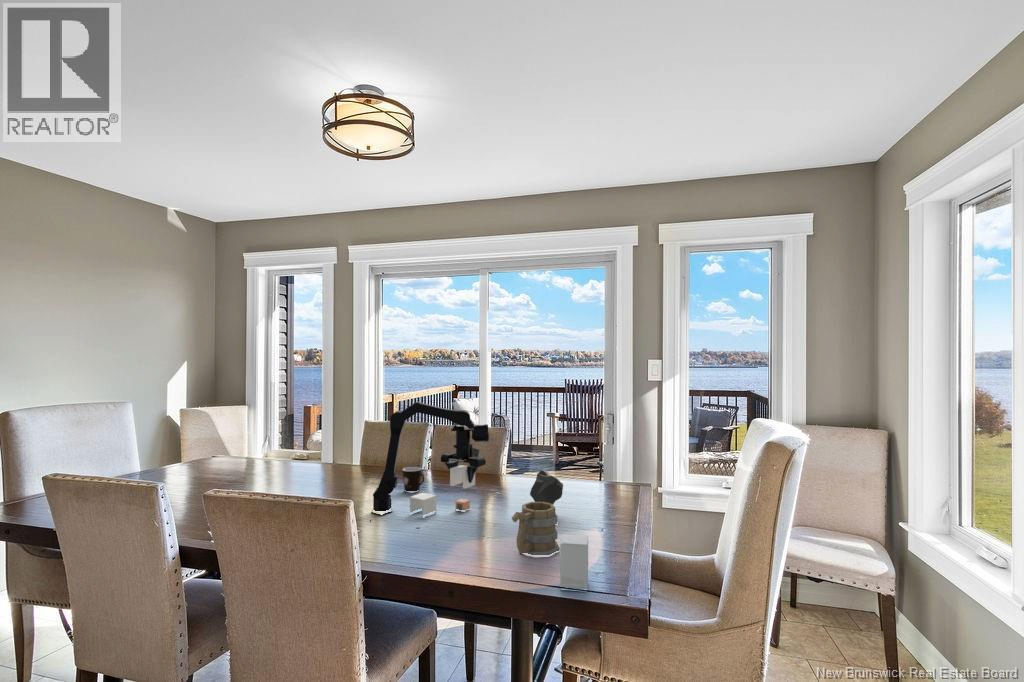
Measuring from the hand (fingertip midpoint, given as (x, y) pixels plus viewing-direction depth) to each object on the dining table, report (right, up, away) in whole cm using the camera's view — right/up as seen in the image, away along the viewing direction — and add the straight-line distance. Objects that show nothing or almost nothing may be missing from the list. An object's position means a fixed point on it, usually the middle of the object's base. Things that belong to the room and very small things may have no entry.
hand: (462, 481), depth 207 cm
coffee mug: (-25, -12, +26) cm, 38 cm away
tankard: (+26, -11, -44) cm, 52 cm away
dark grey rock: (+33, -12, -8) cm, 36 cm away
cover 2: (0, -2, 0) cm, 2 cm away
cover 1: (-15, -11, -5) cm, 19 cm away
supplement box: (+36, -11, -66) cm, 76 cm away
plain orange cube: (0, -12, 0) cm, 12 cm away
